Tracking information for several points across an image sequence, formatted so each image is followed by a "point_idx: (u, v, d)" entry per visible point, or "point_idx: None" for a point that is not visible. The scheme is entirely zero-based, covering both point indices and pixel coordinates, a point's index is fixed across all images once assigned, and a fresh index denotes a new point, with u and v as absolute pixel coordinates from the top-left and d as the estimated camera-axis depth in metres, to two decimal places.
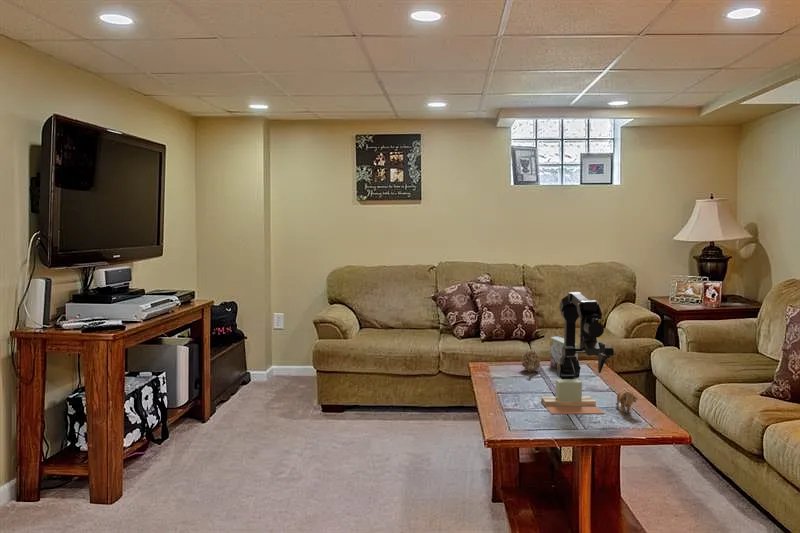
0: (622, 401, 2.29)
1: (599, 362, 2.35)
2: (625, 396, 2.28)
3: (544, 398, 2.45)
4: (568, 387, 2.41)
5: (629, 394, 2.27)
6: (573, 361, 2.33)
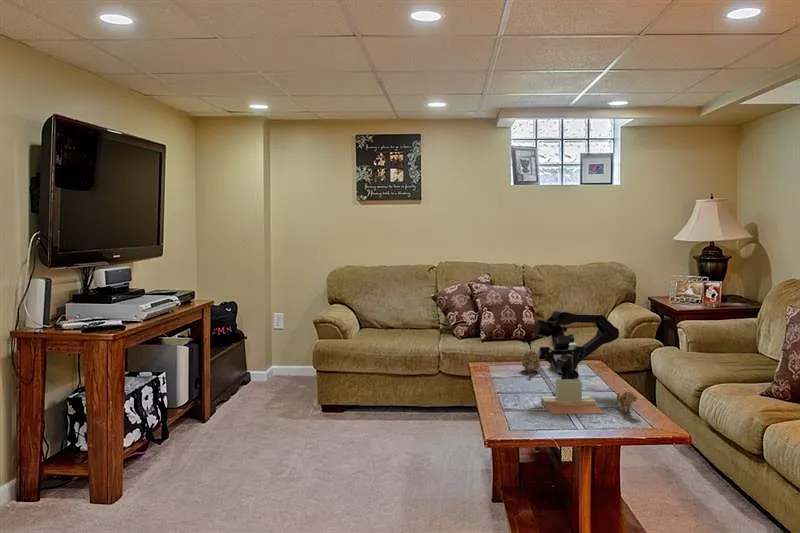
0: (622, 401, 2.30)
1: (572, 362, 2.51)
2: (625, 396, 2.28)
3: (544, 398, 2.45)
4: (568, 387, 2.41)
5: (629, 394, 2.28)
6: (552, 358, 2.51)
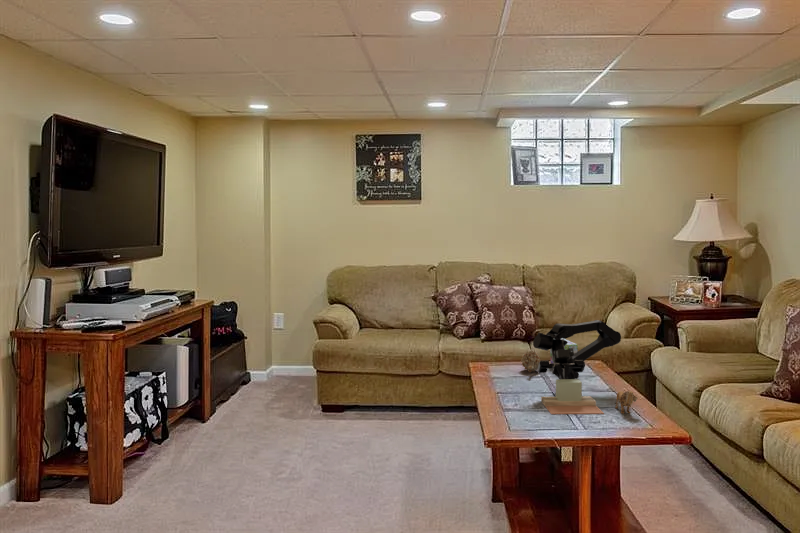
0: (622, 400, 2.30)
1: (563, 376, 2.52)
2: (625, 395, 2.29)
3: (544, 398, 2.45)
4: (568, 387, 2.41)
5: (629, 393, 2.28)
6: (559, 372, 2.51)
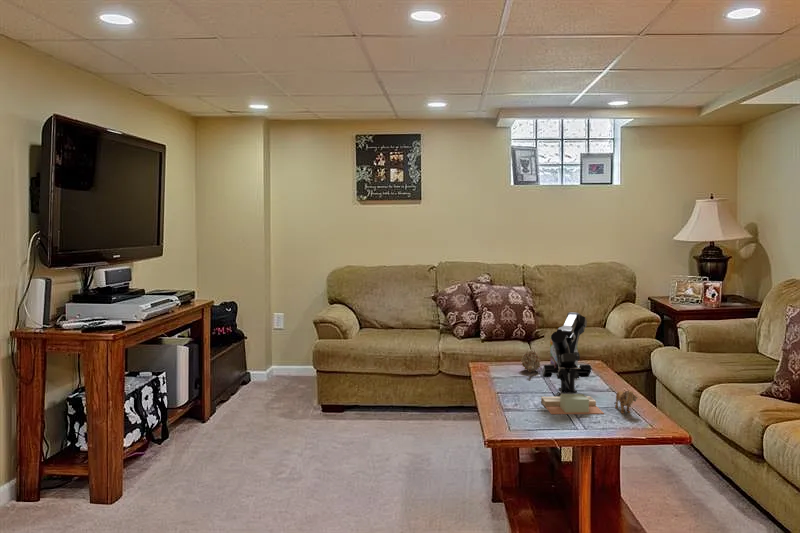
0: (622, 400, 2.30)
1: None
2: (625, 395, 2.29)
3: (544, 398, 2.45)
4: None
5: (629, 393, 2.28)
6: (565, 376, 2.42)
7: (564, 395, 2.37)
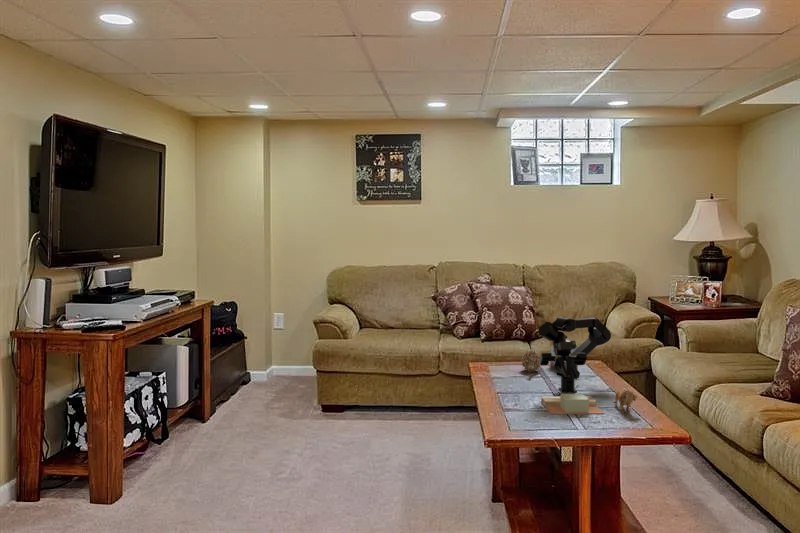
0: (622, 400, 2.31)
1: (565, 368, 2.50)
2: (625, 395, 2.30)
3: (544, 398, 2.45)
4: None
5: (629, 393, 2.29)
6: (561, 364, 2.49)
7: (564, 395, 2.37)
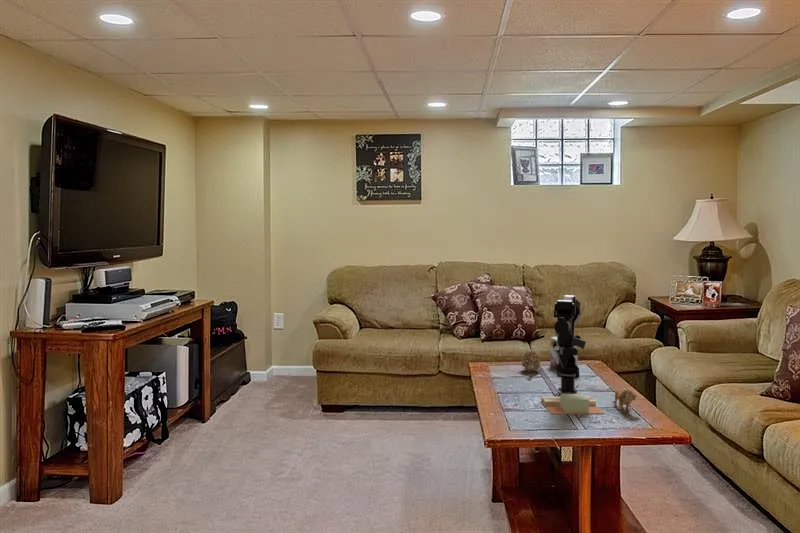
0: (621, 399, 2.32)
1: None
2: (625, 394, 2.30)
3: (544, 398, 2.45)
4: None
5: (629, 392, 2.30)
6: None
7: (564, 395, 2.37)
